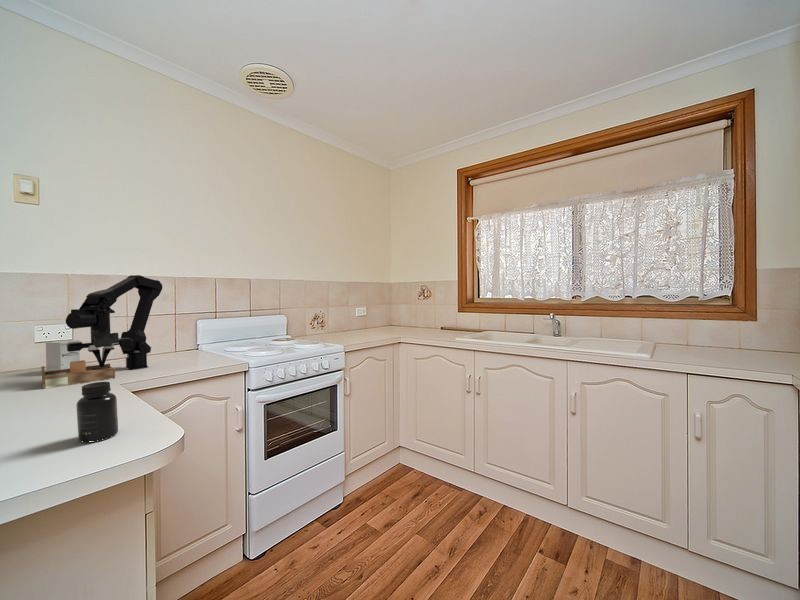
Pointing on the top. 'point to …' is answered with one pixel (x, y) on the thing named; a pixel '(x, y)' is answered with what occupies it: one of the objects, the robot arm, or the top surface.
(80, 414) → the supplement bottle
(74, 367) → the block
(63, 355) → the supplement box
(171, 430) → the top surface
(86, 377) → the brown flat box
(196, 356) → the top surface
